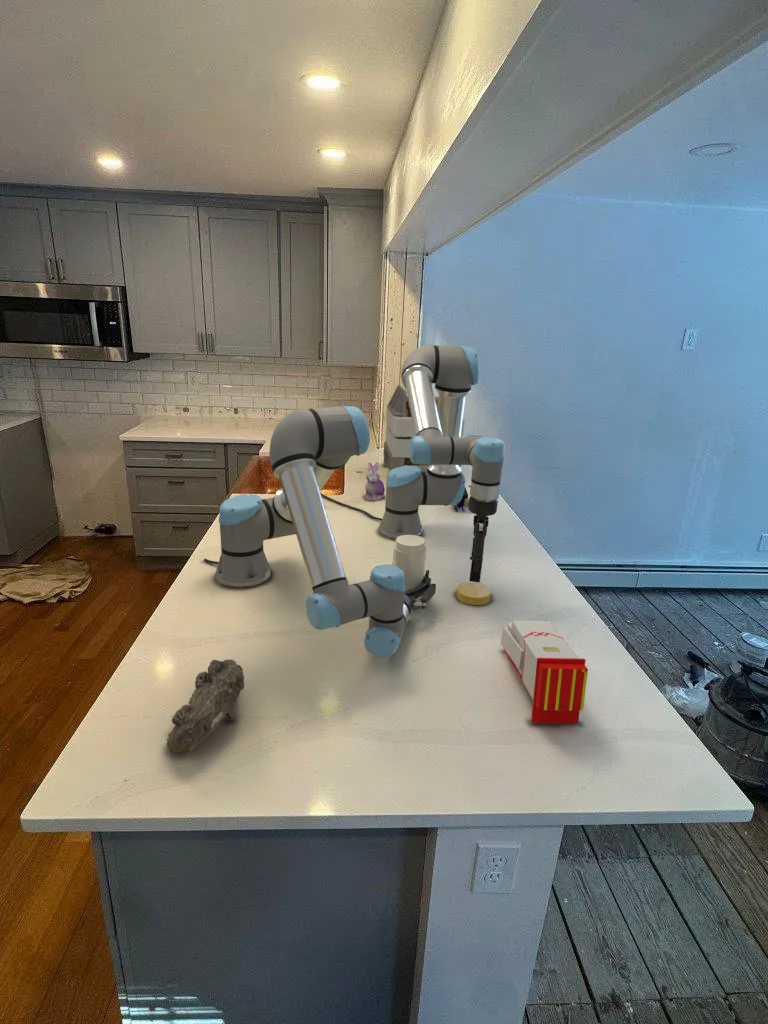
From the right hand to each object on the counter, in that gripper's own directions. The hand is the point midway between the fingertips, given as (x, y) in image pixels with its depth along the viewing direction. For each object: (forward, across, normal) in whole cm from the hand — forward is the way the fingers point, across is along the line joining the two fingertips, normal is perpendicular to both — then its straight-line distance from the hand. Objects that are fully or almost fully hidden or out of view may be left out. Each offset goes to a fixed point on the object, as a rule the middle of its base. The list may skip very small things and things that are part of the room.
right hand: (475, 569), depth 156 cm
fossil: (+7, +62, -48) cm, 79 cm away
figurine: (+11, -77, -42) cm, 88 cm away
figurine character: (+10, -75, -7) cm, 76 cm away
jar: (+8, +8, -18) cm, 21 cm away
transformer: (+12, -120, -28) cm, 124 cm away
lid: (+6, +1, 0) cm, 6 cm away
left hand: (+2, +3, -17) cm, 18 cm away
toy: (+7, +36, +14) cm, 40 cm away
